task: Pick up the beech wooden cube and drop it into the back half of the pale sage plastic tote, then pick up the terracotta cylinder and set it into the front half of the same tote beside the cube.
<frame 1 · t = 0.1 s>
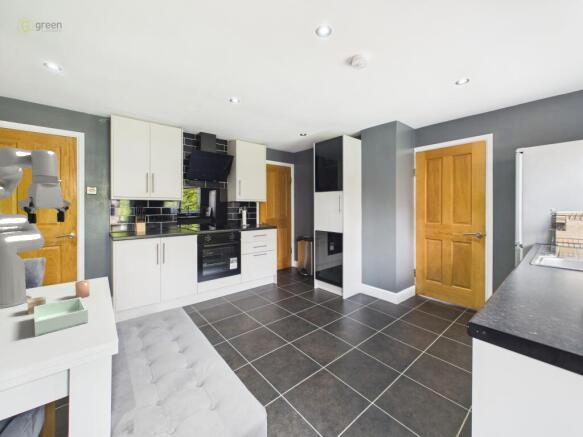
hand: (47, 222, 100), 36 cm above the table, fingers open, 9 cm apart
terracotta cylinder: (82, 296, 116), on the table
tote: (61, 321, 92), on the table
wooden cube: (37, 311, 100), on the table
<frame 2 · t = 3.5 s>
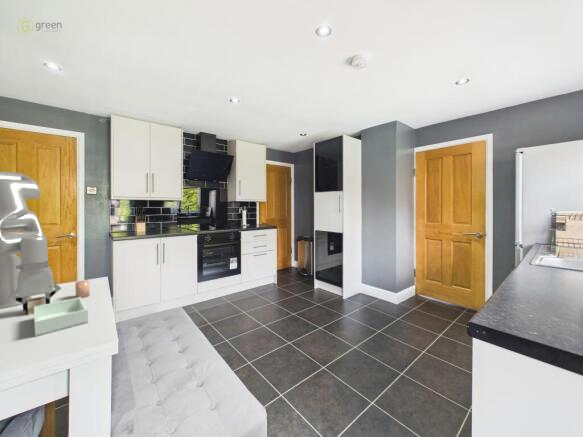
hand: (37, 309, 100), 1 cm above the table, fingers closed on wooden cube, 4 cm apart
wooden cube: (37, 311, 100), on the table, touching gripper
everything else where it was.
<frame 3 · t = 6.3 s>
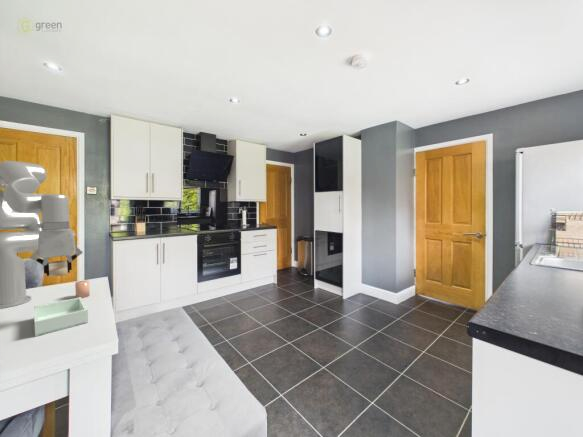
hand: (58, 273, 94), 18 cm above the table, fingers closed on wooden cube, 4 cm apart
wooden cube: (58, 274, 94), point 17 cm above the table, touching gripper
everything else where it was.
when the fingers open (4 cm above the table, at t = 9.2 s): wooden cube drops 3 cm, resting on tote.
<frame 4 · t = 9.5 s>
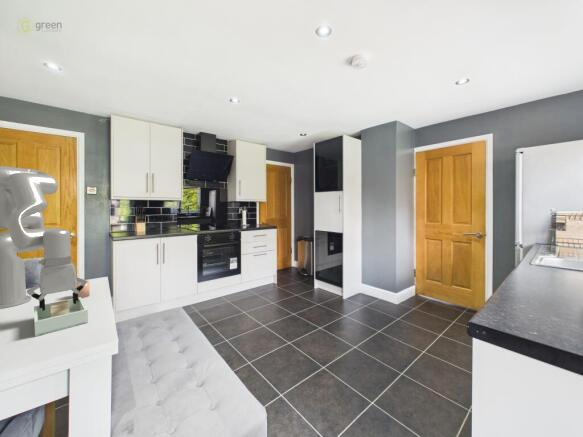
hand: (59, 305, 94), 5 cm above the table, fingers open, 8 cm apart
wooden cube: (59, 316, 95), point 1 cm above the table, touching tote
everything else where it was.
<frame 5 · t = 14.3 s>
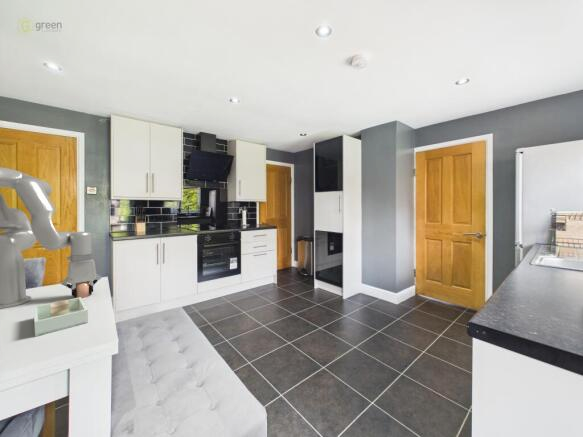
hand: (82, 295, 116), 1 cm above the table, fingers closed on terracotta cylinder, 4 cm apart
terracotta cylinder: (82, 296, 116), on the table, touching gripper
everything else where it was.
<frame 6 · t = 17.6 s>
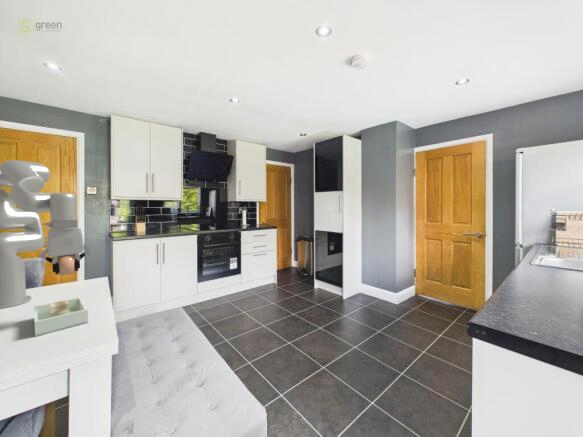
hand: (66, 271, 94), 18 cm above the table, fingers closed on terracotta cylinder, 4 cm apart
terracotta cylinder: (66, 273, 94), point 17 cm above the table, touching gripper
everything else where it was.
when the fingers open (4 cm above the table, at t = 21.1 s): terracotta cylinder drops 2 cm, resting on tote.
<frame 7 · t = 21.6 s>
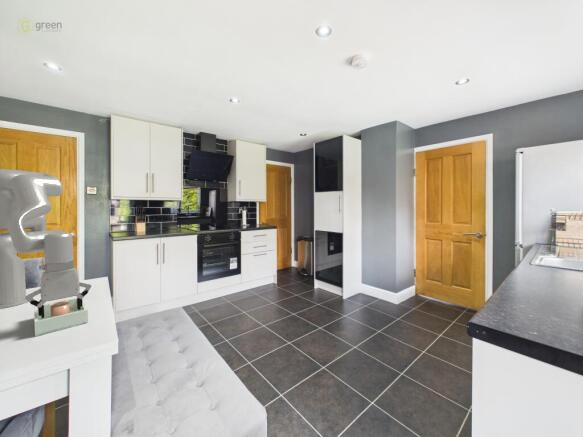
hand: (61, 312, 89), 4 cm above the table, fingers open, 9 cm apart
terracotta cylinder: (61, 323, 89), point 1 cm above the table, touching tote
everything else where it was.
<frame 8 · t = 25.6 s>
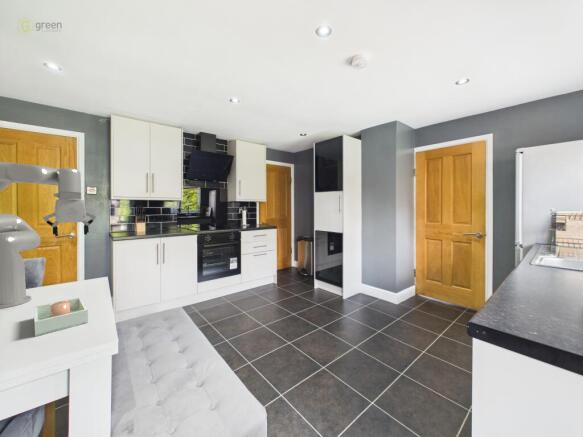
hand: (71, 235, 108), 30 cm above the table, fingers open, 9 cm apart
nothing on the table moved.
at the end: wooden cube inside the target area on the tote (4.0 cm from its centre), point 0.6 cm above the tote's base; terracotta cylinder inside the target area on the tote (4.0 cm from its centre), point 0.7 cm above the tote's base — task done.
